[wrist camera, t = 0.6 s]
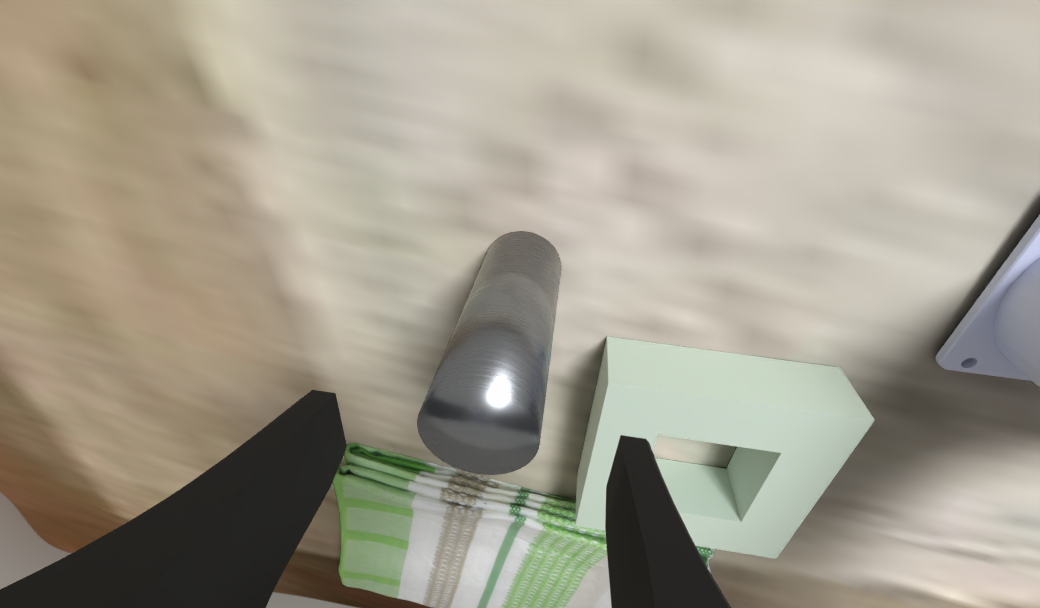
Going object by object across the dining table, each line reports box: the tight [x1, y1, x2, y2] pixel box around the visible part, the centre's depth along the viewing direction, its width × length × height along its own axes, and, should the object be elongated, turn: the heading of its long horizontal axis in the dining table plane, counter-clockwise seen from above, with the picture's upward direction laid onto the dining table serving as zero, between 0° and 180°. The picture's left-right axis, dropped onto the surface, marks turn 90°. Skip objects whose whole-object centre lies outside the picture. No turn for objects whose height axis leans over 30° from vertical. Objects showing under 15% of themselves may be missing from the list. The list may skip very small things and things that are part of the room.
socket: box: [575, 337, 875, 559], centre depth 22 cm, size 10×10×3 cm
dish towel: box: [333, 443, 716, 608], centre depth 31 cm, size 17×23×4 cm
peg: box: [417, 231, 561, 475], centre depth 16 cm, size 3×3×9 cm
